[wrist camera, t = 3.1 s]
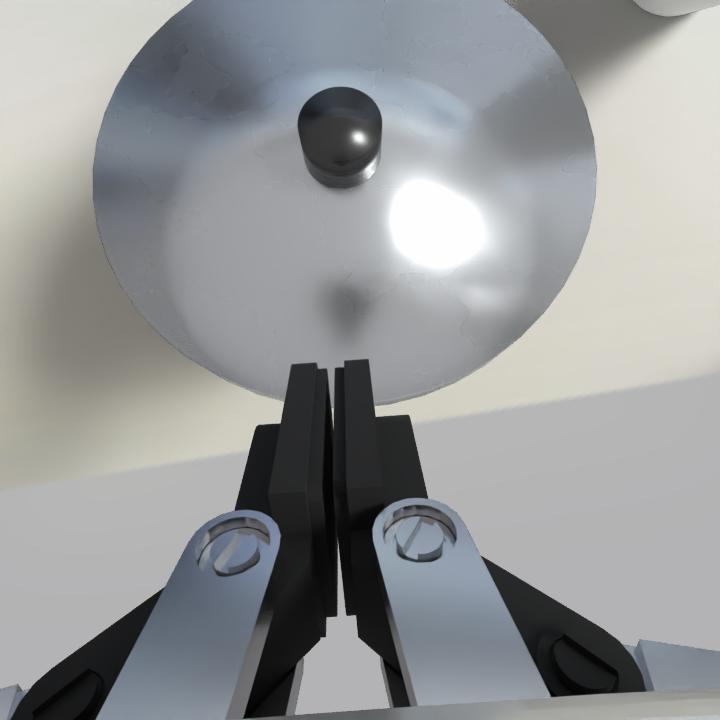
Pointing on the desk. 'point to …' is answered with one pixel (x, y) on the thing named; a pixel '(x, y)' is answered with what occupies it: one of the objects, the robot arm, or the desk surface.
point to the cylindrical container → (675, 6)
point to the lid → (344, 187)
